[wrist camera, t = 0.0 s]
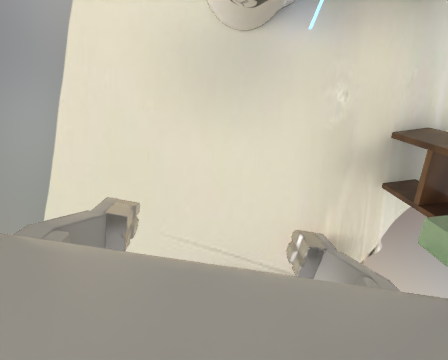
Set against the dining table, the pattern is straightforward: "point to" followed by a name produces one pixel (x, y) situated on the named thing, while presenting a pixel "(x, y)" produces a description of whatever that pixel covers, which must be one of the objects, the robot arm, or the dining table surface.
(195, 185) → the dining table surface
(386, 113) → the dining table surface
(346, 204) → the dining table surface
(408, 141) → the rack
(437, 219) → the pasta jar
